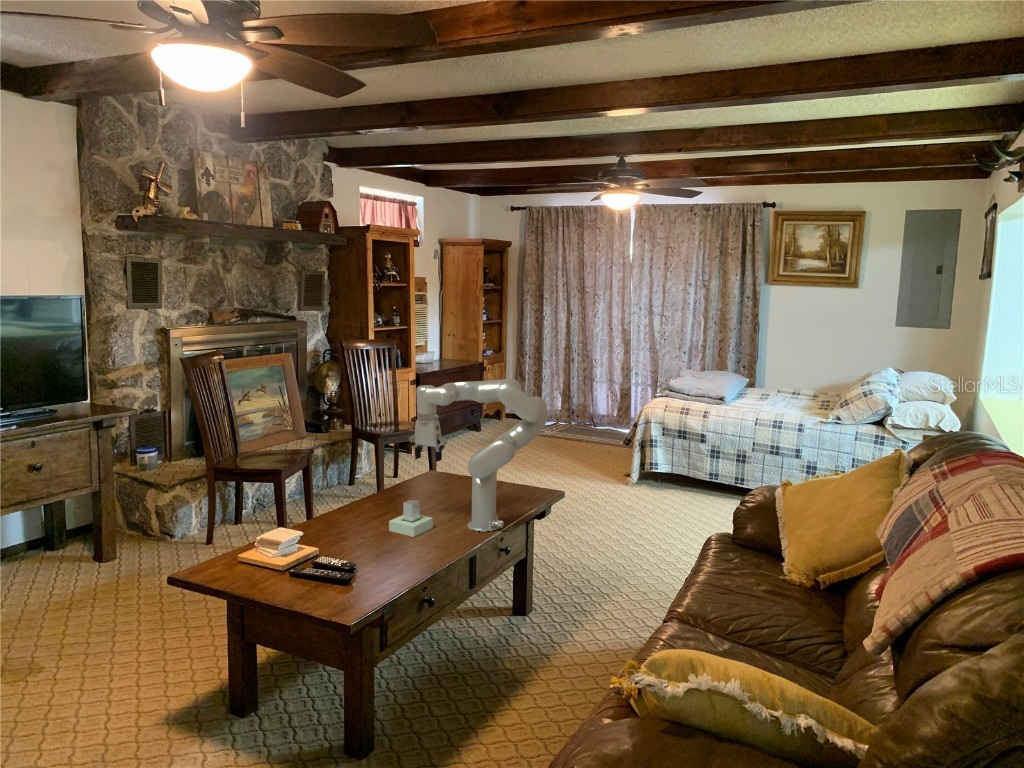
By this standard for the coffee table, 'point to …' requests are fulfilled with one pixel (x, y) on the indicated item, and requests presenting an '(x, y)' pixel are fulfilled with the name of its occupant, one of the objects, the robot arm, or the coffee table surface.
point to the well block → (411, 526)
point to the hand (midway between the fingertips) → (428, 459)
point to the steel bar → (411, 511)
